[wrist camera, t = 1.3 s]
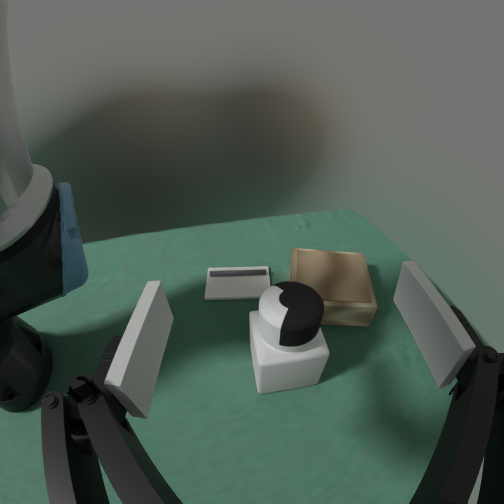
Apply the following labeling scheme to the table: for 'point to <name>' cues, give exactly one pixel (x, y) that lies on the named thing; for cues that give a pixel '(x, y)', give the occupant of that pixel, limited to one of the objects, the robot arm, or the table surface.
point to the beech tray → (337, 284)
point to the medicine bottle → (288, 338)
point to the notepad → (236, 283)
